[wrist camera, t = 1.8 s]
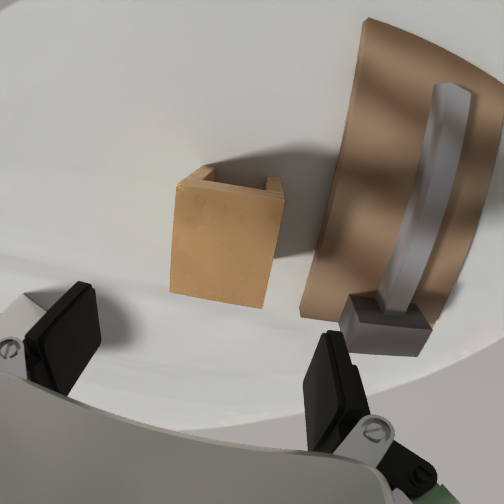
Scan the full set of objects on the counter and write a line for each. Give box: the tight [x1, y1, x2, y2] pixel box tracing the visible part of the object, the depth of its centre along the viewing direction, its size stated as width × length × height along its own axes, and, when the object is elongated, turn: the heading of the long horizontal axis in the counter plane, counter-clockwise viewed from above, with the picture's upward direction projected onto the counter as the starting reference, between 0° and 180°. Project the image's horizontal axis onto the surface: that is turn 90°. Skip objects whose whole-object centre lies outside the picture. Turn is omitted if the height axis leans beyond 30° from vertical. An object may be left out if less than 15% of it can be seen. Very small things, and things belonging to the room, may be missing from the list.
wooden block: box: [170, 166, 285, 309], centre depth 21 cm, size 7×6×7 cm
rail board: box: [299, 17, 504, 357], centre depth 20 cm, size 25×14×6 cm, turn 171°
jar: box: [0, 294, 46, 341], centre depth 26 cm, size 9×8×12 cm
